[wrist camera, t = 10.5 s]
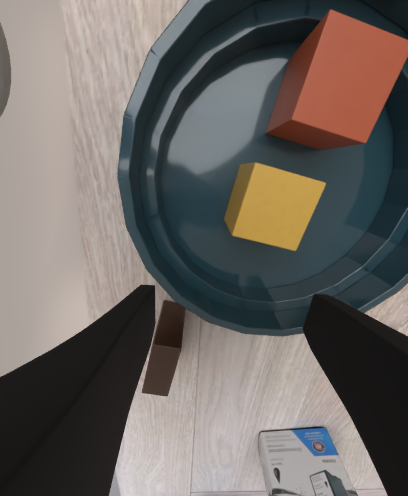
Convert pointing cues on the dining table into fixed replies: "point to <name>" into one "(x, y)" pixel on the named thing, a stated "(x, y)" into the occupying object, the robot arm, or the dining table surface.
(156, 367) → the flat brown block
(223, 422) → the dining table surface
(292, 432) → the ink box
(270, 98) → the bowl
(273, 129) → the terracotta block
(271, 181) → the mustard block
